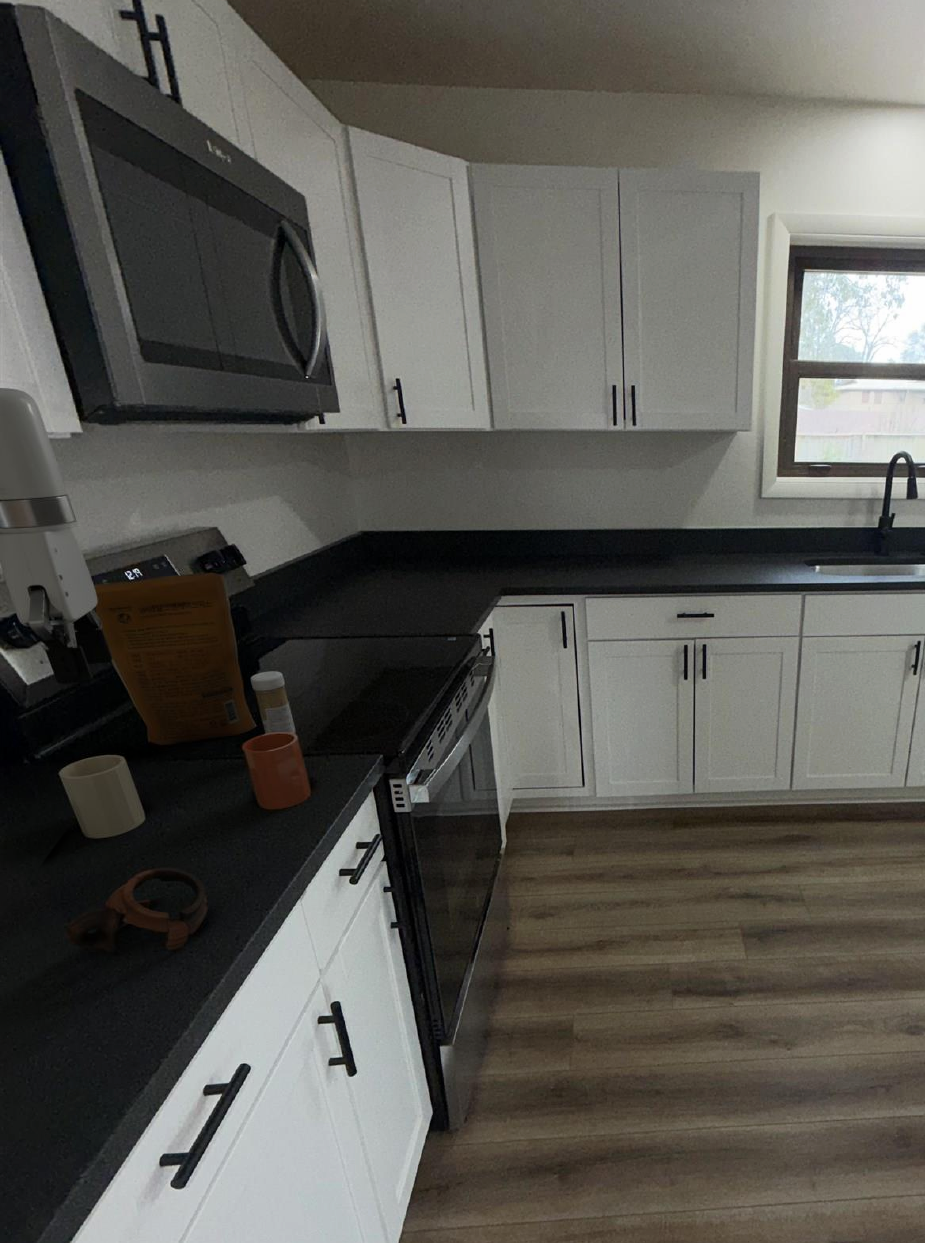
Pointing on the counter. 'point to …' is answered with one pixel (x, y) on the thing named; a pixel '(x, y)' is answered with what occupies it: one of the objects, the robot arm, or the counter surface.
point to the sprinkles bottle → (273, 702)
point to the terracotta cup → (277, 770)
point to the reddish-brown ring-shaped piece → (139, 914)
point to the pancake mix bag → (176, 655)
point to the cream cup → (103, 796)
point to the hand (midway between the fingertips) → (86, 670)
